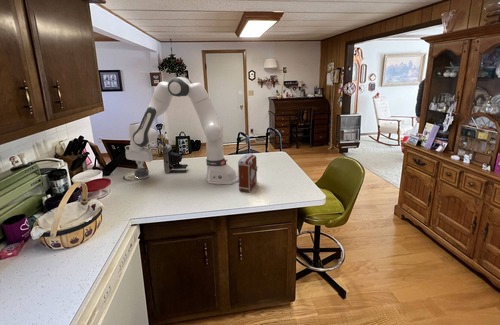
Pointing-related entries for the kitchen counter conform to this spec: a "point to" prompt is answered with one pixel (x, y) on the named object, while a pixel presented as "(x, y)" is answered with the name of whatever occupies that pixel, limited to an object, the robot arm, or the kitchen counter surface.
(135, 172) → the lens barrel
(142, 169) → the lens cap
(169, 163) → the vintage camera
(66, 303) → the kitchen counter surface
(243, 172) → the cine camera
